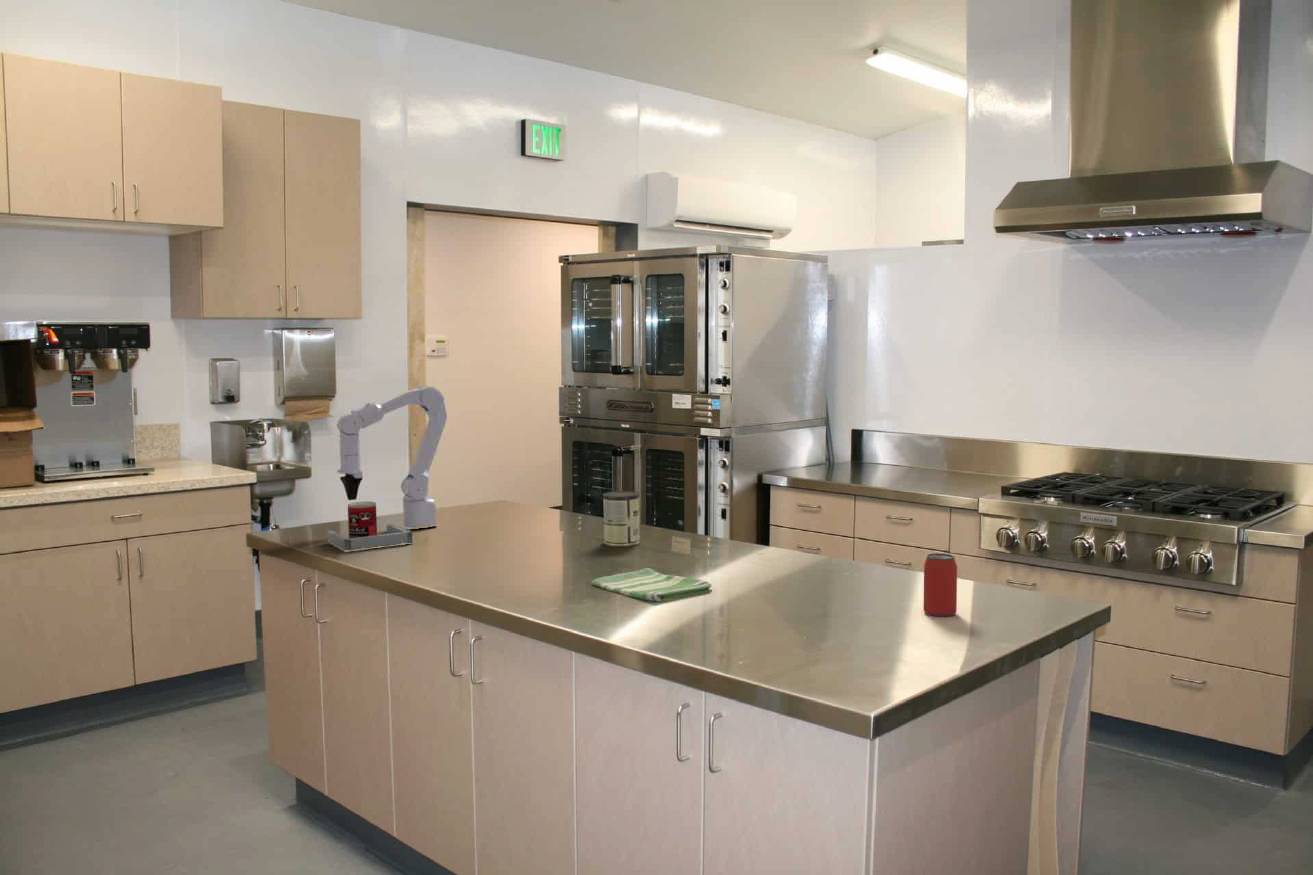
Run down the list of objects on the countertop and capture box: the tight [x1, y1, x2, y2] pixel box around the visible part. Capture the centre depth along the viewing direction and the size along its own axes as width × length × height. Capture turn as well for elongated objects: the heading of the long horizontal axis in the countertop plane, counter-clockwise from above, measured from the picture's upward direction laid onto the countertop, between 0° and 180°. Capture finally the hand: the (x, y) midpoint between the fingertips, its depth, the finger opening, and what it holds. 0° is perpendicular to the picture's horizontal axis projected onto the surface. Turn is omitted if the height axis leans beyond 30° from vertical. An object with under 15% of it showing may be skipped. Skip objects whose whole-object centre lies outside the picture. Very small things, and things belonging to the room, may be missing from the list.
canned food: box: [347, 501, 378, 539], centre depth 292 cm, size 8×8×11 cm
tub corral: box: [326, 523, 413, 550], centre depth 288 cm, size 19×16×4 cm
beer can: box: [923, 552, 958, 618], centre depth 208 cm, size 7×7×12 cm
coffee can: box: [602, 490, 641, 547], centre depth 285 cm, size 10×10×14 cm
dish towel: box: [590, 567, 713, 603], centre depth 232 cm, size 18×23×3 cm
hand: (352, 499), depth 303 cm, fingers closed
